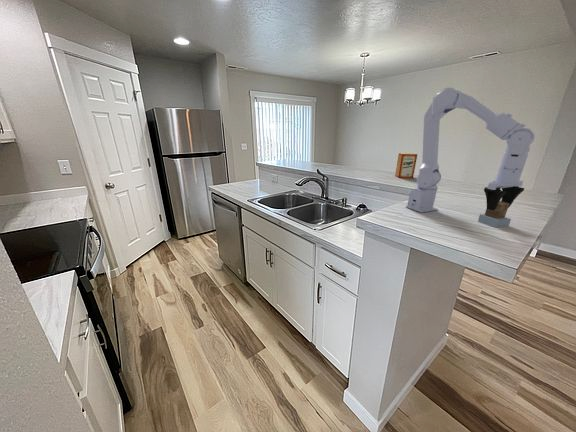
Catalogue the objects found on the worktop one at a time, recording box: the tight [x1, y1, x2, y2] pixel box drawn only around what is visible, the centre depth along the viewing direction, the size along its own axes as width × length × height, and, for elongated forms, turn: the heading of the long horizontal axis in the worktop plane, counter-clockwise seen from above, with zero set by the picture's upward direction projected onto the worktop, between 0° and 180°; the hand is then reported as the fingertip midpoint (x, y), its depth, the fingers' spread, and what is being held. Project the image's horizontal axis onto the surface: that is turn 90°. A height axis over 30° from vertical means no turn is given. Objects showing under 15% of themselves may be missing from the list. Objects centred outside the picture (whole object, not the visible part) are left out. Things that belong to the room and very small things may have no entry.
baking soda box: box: [394, 152, 418, 179], centre depth 159 cm, size 10×6×16 cm
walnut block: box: [484, 200, 510, 219], centre depth 81 cm, size 4×4×5 cm
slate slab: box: [477, 213, 512, 229], centre depth 82 cm, size 6×6×3 cm
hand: (497, 208), depth 81 cm, fingers open, 7 cm apart
